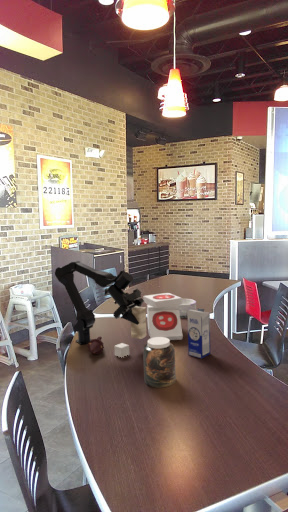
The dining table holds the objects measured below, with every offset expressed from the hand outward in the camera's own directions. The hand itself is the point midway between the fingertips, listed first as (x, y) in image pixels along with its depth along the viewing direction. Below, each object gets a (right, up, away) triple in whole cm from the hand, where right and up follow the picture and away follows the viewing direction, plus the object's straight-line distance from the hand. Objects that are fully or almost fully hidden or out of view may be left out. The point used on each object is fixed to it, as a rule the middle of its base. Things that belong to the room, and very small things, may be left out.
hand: (141, 322), depth 164 cm
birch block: (-1, -7, +1) cm, 7 cm away
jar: (+7, -16, -28) cm, 33 cm away
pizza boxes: (+12, -10, +23) cm, 28 cm away
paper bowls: (+25, -6, +59) cm, 65 cm away
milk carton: (+25, -13, -5) cm, 29 cm away
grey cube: (-8, -14, -2) cm, 16 cm away
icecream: (-20, -14, +1) cm, 24 cm away
